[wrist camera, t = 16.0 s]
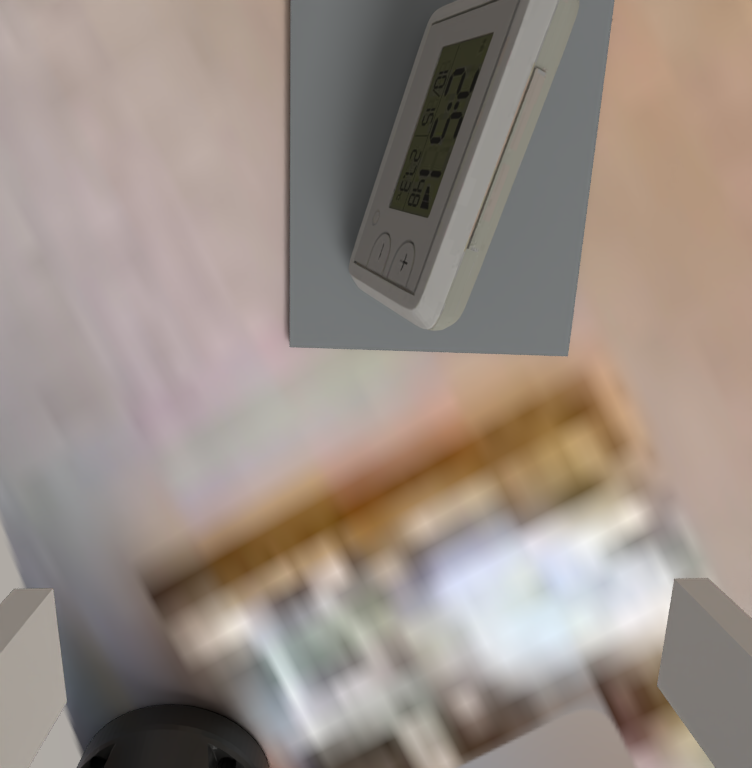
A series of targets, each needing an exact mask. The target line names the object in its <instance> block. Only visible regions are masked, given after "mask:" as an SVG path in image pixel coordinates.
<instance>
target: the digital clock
mask: <svg viewBox="0 0 752 768" xmlns="http://www.w3.org/2000/svg"><path fill="white" fill-rule="evenodd" d="M578 9H579V0H457V1H454V2H452V3H450V4H447V5H445V6H443V7H441V8H439V9H437V10H436V11H435V12H434V13H433V14H432V16H431V18H430V19H429V22H428V24H427V26H426V29H425V32H424V35H423V38H422V41H421V44H420V47H419V50H418V53H417V56H416V59H415V62H414V65H413V68H412V71H411V74H410V77H409V80H408V83H407V86H406V89H405V92H404V95H403V98H402V101H401V104H400V107H399V111H398V114H397V117H396V120H395V123H394V126H393V129H392V132H391V135H390V138H389V141H388V144H387V147H386V150H385V153H384V156H383V159H382V163H381V166H380V169H379V172H378V175H377V178H376V181H375V184H374V187H373V190H372V193H371V196H370V199H369V202H368V205H367V208H366V211H365V215H364V218H363V221H362V224H361V227H360V230H359V233H358V236H357V239H356V242H355V246H354V249H353V252H352V255H351V258H350V263H349V273H350V275H351V277H352V278H353V280H354V282H355V283H356V285H357V286H358V288H360V289H361V290H362V291H364V292H365V293H367V294H368V295H370V296H371V297H373V298H374V299H376V300H378V301H379V302H381V303H382V304H384V305H385V306H387V307H388V308H390V309H391V310H393V311H395V312H396V313H398V314H399V315H401V316H402V317H404V318H405V319H407V320H408V321H410V322H412V323H413V324H415V325H417V326H419V327H420V328H423V329H427V330H433V331H437V330H443V329H445V328H447V327H449V326H451V325H452V324H454V323H455V322H456V321H457V320H458V319H459V318H460V316H461V315H462V313H463V311H464V309H465V306H466V304H467V301H468V299H469V296H470V294H471V291H472V289H473V286H474V284H475V281H476V279H477V276H478V274H479V271H480V269H481V266H482V264H483V261H484V258H485V256H486V253H487V251H488V248H489V245H490V243H491V240H492V238H493V235H494V232H495V230H496V227H497V225H498V222H499V219H500V217H501V214H502V212H503V209H504V206H505V204H506V201H507V199H508V196H509V193H510V191H511V188H512V185H513V183H514V180H515V178H516V175H517V172H518V170H519V167H520V165H521V162H522V159H523V157H524V154H525V152H526V149H527V146H528V144H529V141H530V139H531V136H532V133H533V131H534V128H535V126H536V123H537V120H538V118H539V115H540V113H541V110H542V107H543V105H544V102H545V99H546V97H547V94H548V92H549V89H550V86H551V84H552V81H553V79H554V76H555V73H556V71H557V68H558V66H559V63H560V60H561V58H562V55H563V52H564V50H565V47H566V44H567V41H568V39H569V36H570V33H571V30H572V28H573V25H574V22H575V19H576V17H577V13H578Z"/></svg>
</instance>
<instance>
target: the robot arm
mask: <svg viewBox="0 0 752 768" xmlns="http://www.w3.org/2000/svg"><path fill="white" fill-rule="evenodd" d="M657 686H658V688H659V689H660V690H661V692H662V693H663V695H664V696H665V698H666V699H667V700H668V702H669V703H670V705H671V706H672V707H673V709H674V710H675V712H676V713H677V714H678V716H679V717H680V719H681V720H682V721H683V723H684V724H685V726H686V727H687V728H688V730H689V731H690V733H691V734H692V735H693V737H694V738H695V740H696V741H697V742H698V744H699V745H700V747H701V748H702V749H703V751H704V752H705V754H706V755H707V757H708V758H709V759H710V761H711V762H712V764H713V765H714V766H715V768H752V618H751V617H750V616H749V615H747V614H746V613H745V612H744V611H743V610H742V609H741V608H740V607H739V606H738V605H737V604H736V603H734V602H733V601H732V600H731V599H730V598H729V597H728V596H727V595H726V594H725V593H724V592H723V591H721V590H720V589H719V588H718V587H717V586H716V585H715V584H714V583H713V582H712V581H711V580H709V579H708V578H686V579H674V584H673V590H672V596H671V603H670V609H669V615H668V621H667V628H666V634H665V640H664V646H663V652H662V659H661V665H660V671H659V677H658V683H657ZM66 703H67V698H66V690H65V681H64V673H63V665H62V657H61V649H60V640H59V632H58V624H57V616H56V607H55V599H54V591H53V588H36V589H14V590H13V591H12V592H11V593H10V594H9V595H8V596H7V597H6V598H5V599H4V601H3V602H2V603H1V604H0V768H29V767H30V765H31V763H32V761H33V760H34V758H35V756H36V755H37V753H38V751H39V749H40V748H41V746H42V744H43V742H44V741H45V739H46V737H47V736H48V734H49V732H50V731H51V729H52V727H53V725H54V724H55V722H56V720H57V718H58V717H59V715H60V713H61V712H62V710H63V708H64V706H65V705H66ZM77 768H269V765H268V762H267V760H266V757H265V755H264V753H263V752H262V750H261V748H260V747H259V745H258V744H257V743H256V741H255V740H254V739H253V738H252V737H251V736H250V735H249V734H248V733H247V732H246V731H245V730H243V729H242V728H241V727H240V726H238V725H237V724H235V723H234V722H232V721H230V720H229V719H227V718H225V717H223V716H221V715H218V714H216V713H213V712H211V711H208V710H204V709H200V708H196V707H190V706H182V705H159V706H151V707H146V708H142V709H138V710H135V711H132V712H129V713H127V714H124V715H122V716H120V717H118V718H116V719H115V720H113V721H112V722H110V723H109V724H107V725H106V726H105V727H104V728H102V729H101V730H100V731H99V732H98V733H97V734H96V735H95V736H94V738H93V739H92V740H91V742H90V743H89V745H88V746H87V748H86V750H85V752H84V754H83V756H82V758H81V760H80V762H79V764H78V766H77Z"/></svg>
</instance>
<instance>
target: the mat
mask: <svg viewBox="0 0 752 768" xmlns="http://www.w3.org/2000/svg"><path fill="white" fill-rule="evenodd" d="M454 1H457V0H291V22H290V347H302V348H333V349H363V350H393V351H423V352H454V353H484V354H514V355H544V356H568V351H569V343H570V336H571V328H572V320H573V313H574V305H575V297H576V290H577V282H578V274H579V267H580V259H581V252H582V244H583V236H584V229H585V221H586V213H587V206H588V198H589V190H590V183H591V175H592V168H593V160H594V152H595V145H596V137H597V129H598V122H599V114H600V106H601V99H602V91H603V84H604V76H605V68H606V61H607V53H608V45H609V38H610V30H611V23H612V15H613V7H614V0H579V9H578V13H577V17H576V19H575V22H574V25H573V28H572V30H571V33H570V36H569V39H568V41H567V44H566V47H565V50H564V52H563V55H562V58H561V60H560V63H559V66H558V68H557V71H556V73H555V76H554V79H553V81H552V84H551V86H550V89H549V92H548V94H547V97H546V99H545V102H544V105H543V107H542V110H541V113H540V115H539V118H538V120H537V123H536V126H535V128H534V131H533V133H532V136H531V139H530V141H529V144H528V146H527V149H526V152H525V154H524V157H523V159H522V162H521V165H520V167H519V170H518V172H517V175H516V178H515V180H514V183H513V185H512V188H511V191H510V193H509V196H508V199H507V201H506V204H505V206H504V209H503V212H502V214H501V217H500V219H499V222H498V225H497V227H496V230H495V232H494V235H493V238H492V240H491V243H490V245H489V248H488V251H487V253H486V256H485V258H484V261H483V264H482V266H481V269H480V271H479V274H478V276H477V279H476V281H475V284H474V286H473V289H472V291H471V294H470V296H469V299H468V301H467V304H466V306H465V309H464V311H463V313H462V315H461V316H460V318H459V319H458V320H457V321H456V322H455V323H454V324H452V325H451V326H449V327H447V328H445V329H443V330H437V331H433V330H427V329H423V328H420V327H419V326H417V325H415V324H413V323H412V322H410V321H408V320H407V319H405V318H404V317H402V316H401V315H399V314H398V313H396V312H395V311H393V310H391V309H390V308H388V307H387V306H385V305H384V304H382V303H381V302H379V301H378V300H376V299H374V298H373V297H371V296H370V295H368V294H367V293H365V292H364V291H362V290H361V289H360V288H358V286H357V285H356V283H355V282H354V280H353V278H352V277H351V275H350V273H349V263H350V258H351V255H352V252H353V249H354V246H355V242H356V239H357V236H358V233H359V230H360V227H361V224H362V221H363V218H364V215H365V211H366V208H367V205H368V202H369V199H370V196H371V193H372V190H373V187H374V184H375V181H376V178H377V175H378V172H379V169H380V166H381V163H382V159H383V156H384V153H385V150H386V147H387V144H388V141H389V138H390V135H391V132H392V129H393V126H394V123H395V120H396V117H397V114H398V111H399V107H400V104H401V101H402V98H403V95H404V92H405V89H406V86H407V83H408V80H409V77H410V74H411V71H412V68H413V65H414V62H415V59H416V56H417V53H418V50H419V47H420V44H421V41H422V38H423V35H424V32H425V29H426V26H427V24H428V22H429V19H430V18H431V16H432V14H433V13H434V12H435V11H436V10H437V9H439V8H441V7H443V6H445V5H447V4H450V3H452V2H454Z"/></svg>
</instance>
